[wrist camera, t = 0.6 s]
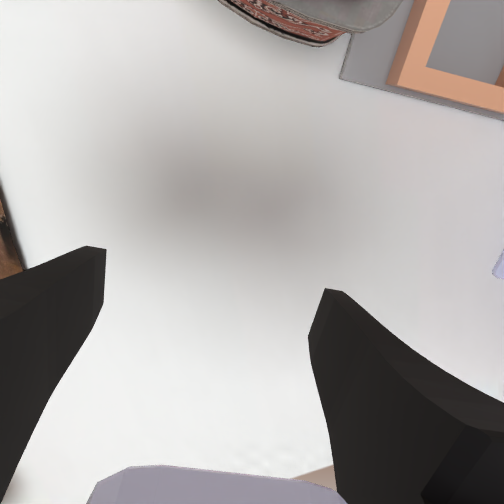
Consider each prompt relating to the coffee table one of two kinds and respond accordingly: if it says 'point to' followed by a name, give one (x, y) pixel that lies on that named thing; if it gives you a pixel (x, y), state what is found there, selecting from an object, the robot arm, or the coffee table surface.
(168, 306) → the coffee table surface
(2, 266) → the wooden fragment
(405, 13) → the holder
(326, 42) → the lighter
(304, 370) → the coffee table surface
